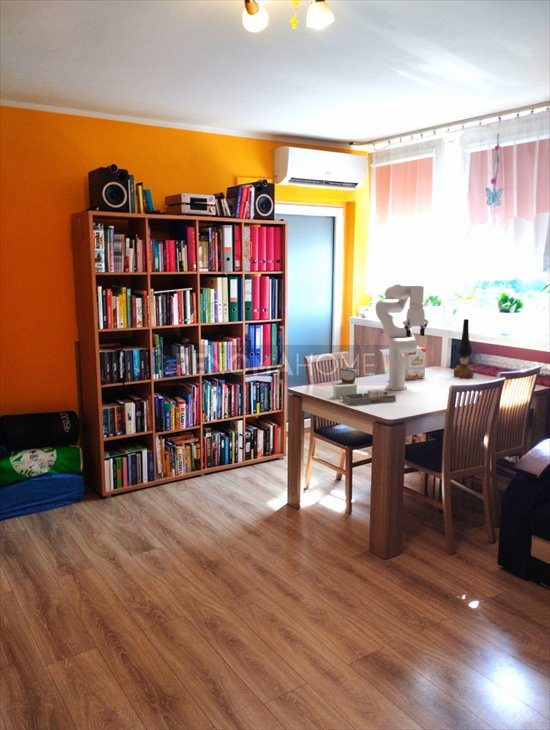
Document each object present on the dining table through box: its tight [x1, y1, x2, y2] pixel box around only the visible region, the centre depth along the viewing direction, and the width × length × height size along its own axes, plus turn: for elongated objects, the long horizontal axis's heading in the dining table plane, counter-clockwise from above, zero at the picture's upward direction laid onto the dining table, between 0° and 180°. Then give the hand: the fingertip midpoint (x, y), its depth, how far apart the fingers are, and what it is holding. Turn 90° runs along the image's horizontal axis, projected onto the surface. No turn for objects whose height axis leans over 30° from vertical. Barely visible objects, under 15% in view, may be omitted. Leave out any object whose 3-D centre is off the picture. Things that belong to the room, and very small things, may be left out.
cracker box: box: [403, 346, 427, 380], centre depth 398 cm, size 14×6×21 cm, turn 114°
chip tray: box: [341, 392, 373, 406], centre depth 333 cm, size 12×13×4 cm
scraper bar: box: [333, 384, 358, 399], centre depth 347 cm, size 4×13×7 cm, turn 108°
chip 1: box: [367, 389, 377, 398], centre depth 336 cm, size 4×4×4 cm
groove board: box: [363, 391, 397, 404], centre depth 338 cm, size 11×15×4 cm
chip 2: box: [375, 388, 385, 396], centre depth 337 cm, size 4×4×4 cm
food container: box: [339, 366, 358, 385], centre depth 386 cm, size 12×6×10 cm, turn 43°
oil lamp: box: [453, 318, 475, 379], centre depth 400 cm, size 14×15×40 cm
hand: (415, 336), depth 341 cm, fingers open, 9 cm apart
